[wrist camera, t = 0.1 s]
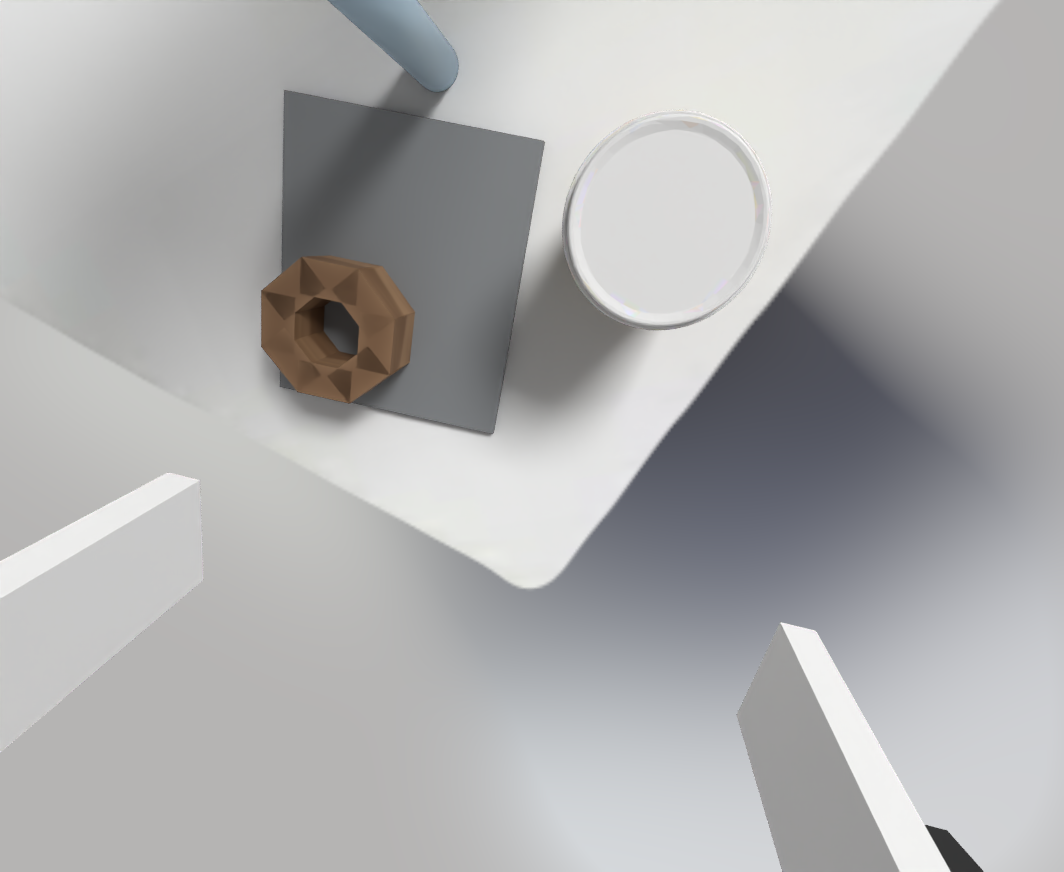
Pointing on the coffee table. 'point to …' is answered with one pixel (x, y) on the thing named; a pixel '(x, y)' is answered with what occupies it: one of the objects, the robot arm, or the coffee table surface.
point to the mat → (416, 240)
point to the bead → (300, 326)
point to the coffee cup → (667, 220)
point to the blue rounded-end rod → (406, 38)
